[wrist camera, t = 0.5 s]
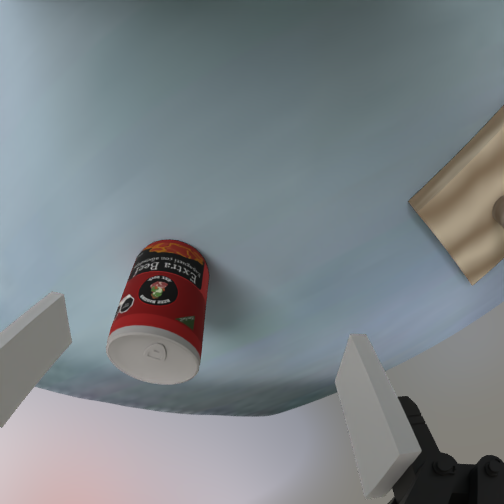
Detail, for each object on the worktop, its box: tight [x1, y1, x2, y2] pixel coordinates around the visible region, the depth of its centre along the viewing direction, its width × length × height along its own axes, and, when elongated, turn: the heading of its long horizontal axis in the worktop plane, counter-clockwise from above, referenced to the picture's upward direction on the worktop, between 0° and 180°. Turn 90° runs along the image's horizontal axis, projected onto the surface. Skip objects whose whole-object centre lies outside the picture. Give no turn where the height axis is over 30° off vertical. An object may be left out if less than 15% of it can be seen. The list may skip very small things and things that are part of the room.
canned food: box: [106, 240, 209, 385], centre depth 27 cm, size 8×8×11 cm
